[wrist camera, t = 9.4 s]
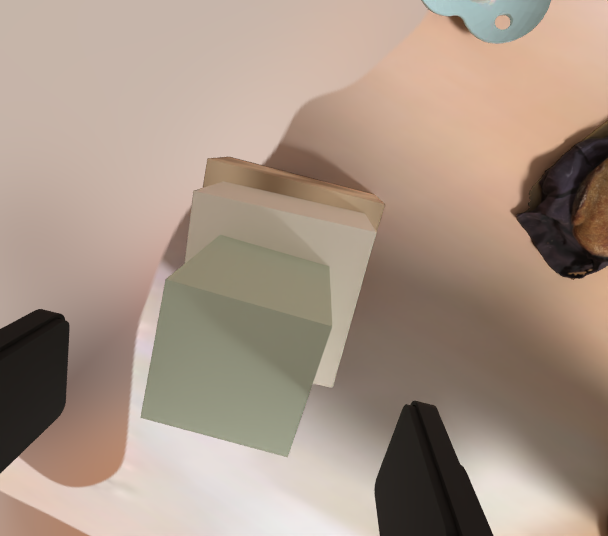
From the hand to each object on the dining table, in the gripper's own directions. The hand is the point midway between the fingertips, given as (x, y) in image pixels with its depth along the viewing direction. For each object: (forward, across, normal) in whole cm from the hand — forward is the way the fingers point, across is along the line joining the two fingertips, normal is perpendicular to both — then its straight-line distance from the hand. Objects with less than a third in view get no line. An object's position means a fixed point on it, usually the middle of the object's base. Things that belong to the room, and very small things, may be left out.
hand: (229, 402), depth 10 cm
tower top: (+12, 0, 0) cm, 13 cm away
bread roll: (+18, -19, -9) cm, 28 cm away
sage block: (+7, 0, 0) cm, 8 cm away
